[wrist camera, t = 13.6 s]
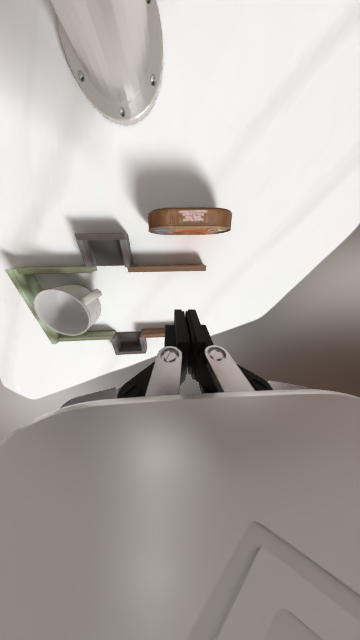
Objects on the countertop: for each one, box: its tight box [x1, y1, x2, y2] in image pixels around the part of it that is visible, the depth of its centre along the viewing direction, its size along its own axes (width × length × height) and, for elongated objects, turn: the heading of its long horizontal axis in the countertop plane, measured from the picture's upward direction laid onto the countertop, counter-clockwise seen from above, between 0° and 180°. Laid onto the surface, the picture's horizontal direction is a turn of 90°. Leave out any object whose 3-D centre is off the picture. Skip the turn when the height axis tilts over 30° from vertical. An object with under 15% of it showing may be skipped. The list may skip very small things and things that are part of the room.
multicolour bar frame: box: [5, 234, 206, 355], centre depth 34 cm, size 31×40×4 cm
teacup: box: [34, 284, 102, 336], centre depth 31 cm, size 14×11×8 cm
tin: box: [148, 208, 232, 235], centre depth 24 cm, size 15×3×8 cm, turn 90°
